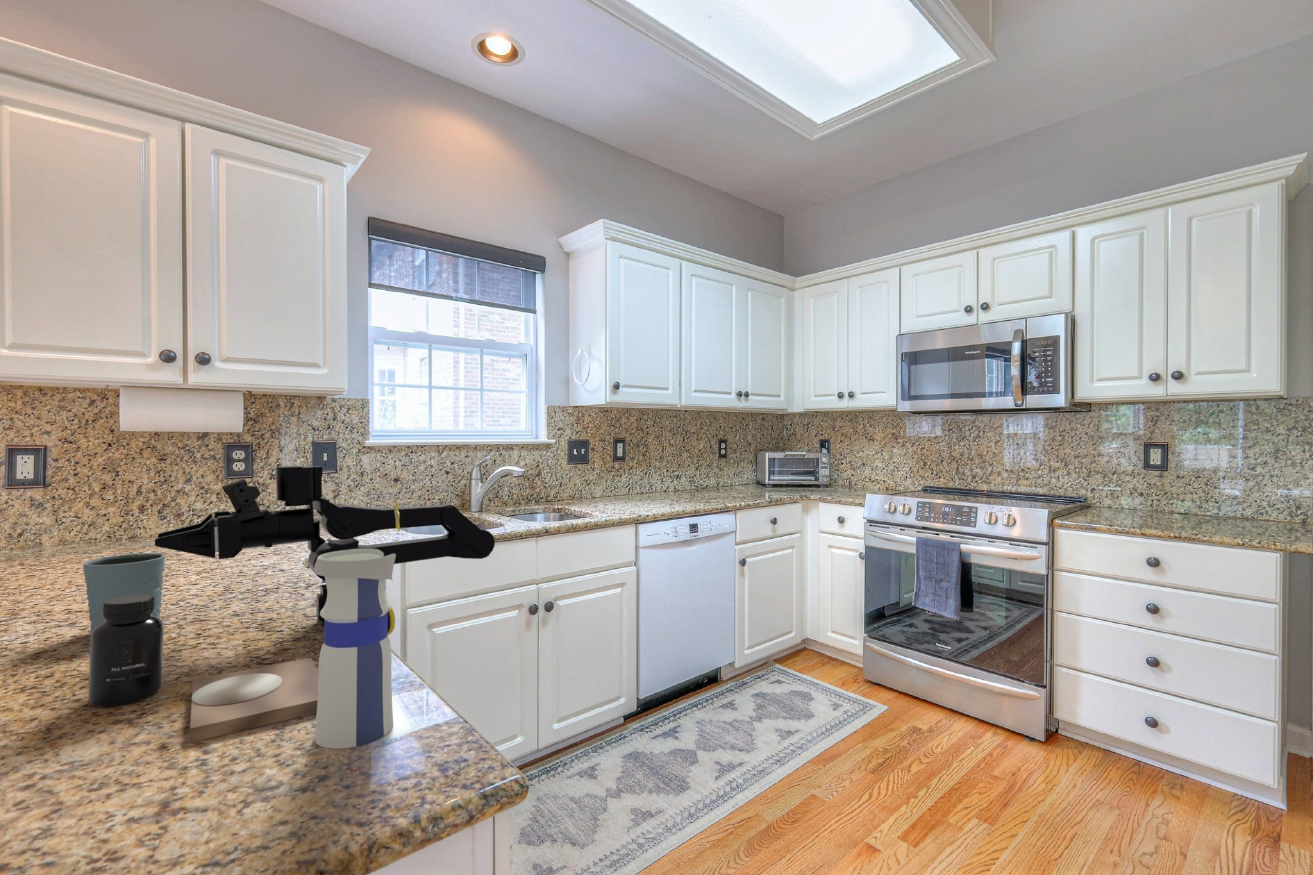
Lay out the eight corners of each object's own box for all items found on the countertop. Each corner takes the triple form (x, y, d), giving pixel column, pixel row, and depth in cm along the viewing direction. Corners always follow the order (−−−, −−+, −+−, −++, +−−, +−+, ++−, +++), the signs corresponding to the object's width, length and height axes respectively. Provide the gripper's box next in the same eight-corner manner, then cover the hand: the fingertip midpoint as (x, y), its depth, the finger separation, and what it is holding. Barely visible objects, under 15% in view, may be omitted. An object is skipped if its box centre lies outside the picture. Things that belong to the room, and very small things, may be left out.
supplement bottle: (118, 711, 70) (120, 608, 70) (73, 705, 71) (74, 604, 71) (176, 687, 77) (177, 594, 77) (133, 683, 78) (135, 590, 78)
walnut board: (310, 668, 83) (310, 656, 83) (329, 710, 71) (329, 695, 71) (192, 691, 76) (192, 677, 76) (189, 742, 63) (190, 726, 63)
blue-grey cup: (174, 627, 101) (175, 556, 101) (96, 644, 92) (97, 567, 93) (149, 618, 106) (149, 550, 106) (72, 633, 98) (73, 560, 98)
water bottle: (374, 706, 72) (376, 497, 72) (410, 727, 66) (413, 502, 67) (299, 731, 65) (301, 502, 66) (332, 757, 60) (335, 508, 60)
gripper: (270, 479, 108) (157, 485, 98) (282, 480, 93) (151, 487, 84) (272, 541, 108) (159, 553, 98) (284, 551, 93) (153, 567, 83)
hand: (156, 539), depth 91 cm, fingers open, 9 cm apart
